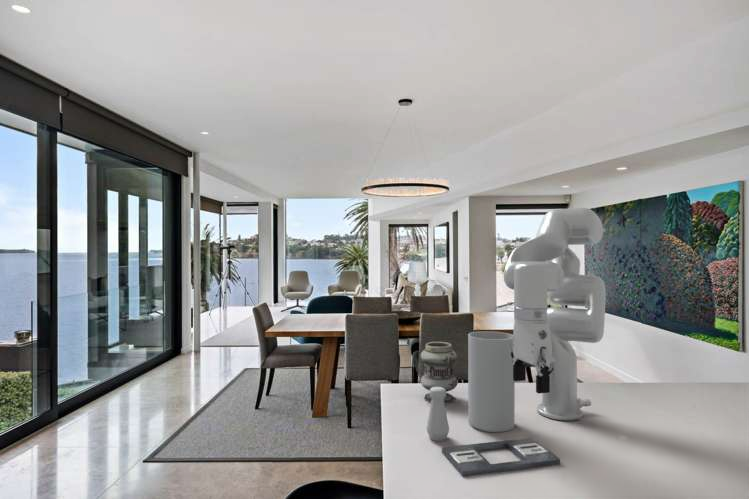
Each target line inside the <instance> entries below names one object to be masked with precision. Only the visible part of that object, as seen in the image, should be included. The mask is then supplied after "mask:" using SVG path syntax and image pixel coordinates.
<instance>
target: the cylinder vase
mask: <svg viewBox="0 0 749 499" xmlns="http://www.w3.org/2000/svg"><path fill="white" fill-rule="evenodd" d="M467 337H468V338H467V339H468V340H467V342H468V343H467V346H468V350H467V351H468V352H467V356H468V357H467V358H468V362H467V363H468V364H467V366H468V367H467V369H468V374H467V375H468V376H467V378H468V383H467V384H468V386H467V388H468V389H467V390H468V392H467V393H468V395H467V397H468V399H467V403H468V404H467V405H468V408H467V410H468V412H467V413H468V414H467V415H468V423H469V424H470V426H471V427H473V428H475V429H477V430H479V431H483V432H487V433H497V434H498V433H506V432H509V431H510V430H513V429H514V427H515V425H516V424H515V423H516V422H515V419H516V418H515V406H516V404H515V402H516V401H515V398H516V397H515V396H516V394H515V393H516V392H515V386H516V385H515V382H516V381H514V380H513V365H515V364H512V357H511V350H510V346H509V345H510V344H511V343H512V342H513V333H509V332H508V333H507V332H503V331H493V330H492V331H490V330H489V331H488V330H483V331H480V330H479V331H473V332H470V333H468V336H467Z"/></svg>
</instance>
